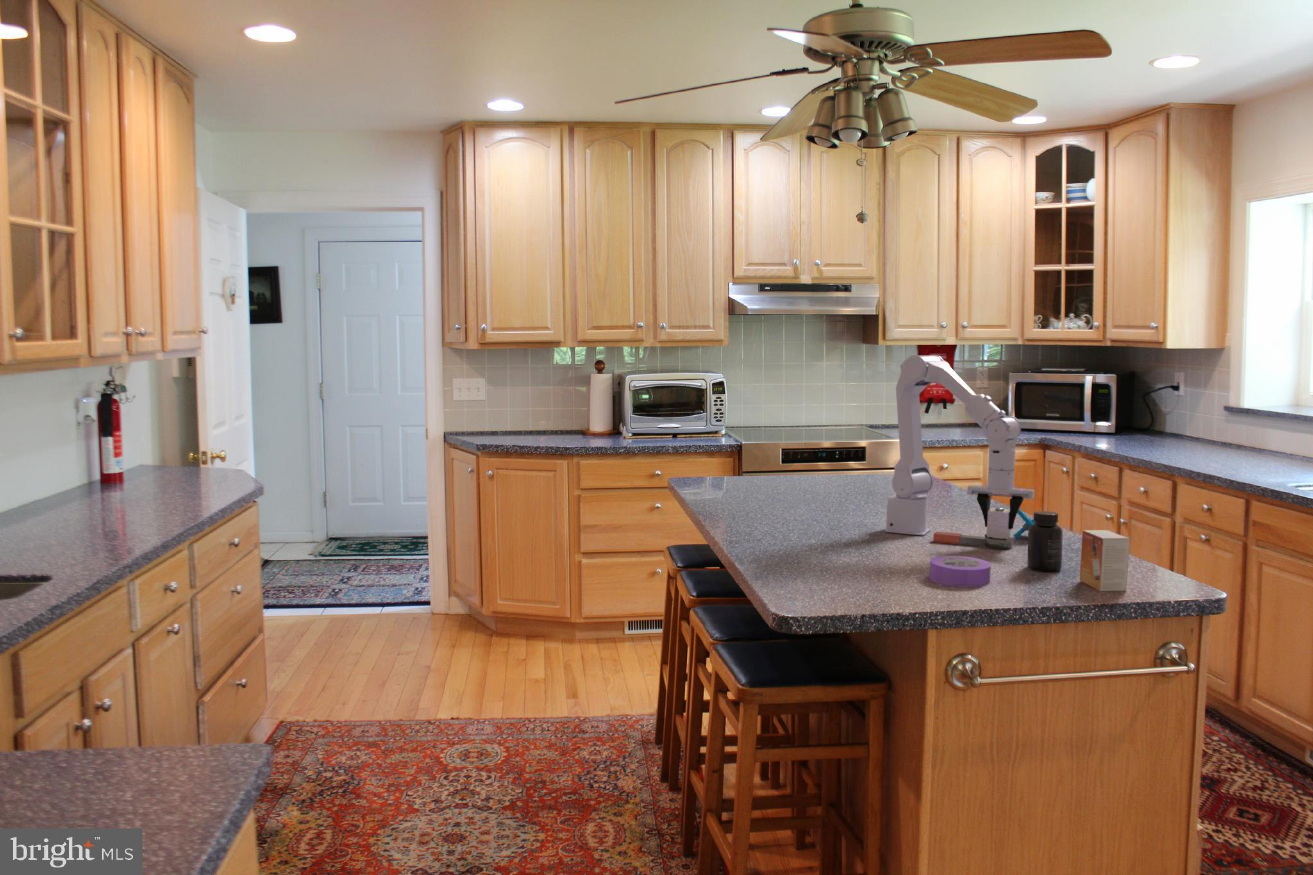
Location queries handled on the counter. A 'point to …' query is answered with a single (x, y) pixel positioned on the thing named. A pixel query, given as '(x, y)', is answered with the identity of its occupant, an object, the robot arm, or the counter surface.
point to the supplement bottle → (1045, 543)
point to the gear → (1026, 525)
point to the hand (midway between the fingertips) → (999, 527)
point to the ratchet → (973, 540)
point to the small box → (1104, 560)
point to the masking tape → (960, 571)
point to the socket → (998, 523)
